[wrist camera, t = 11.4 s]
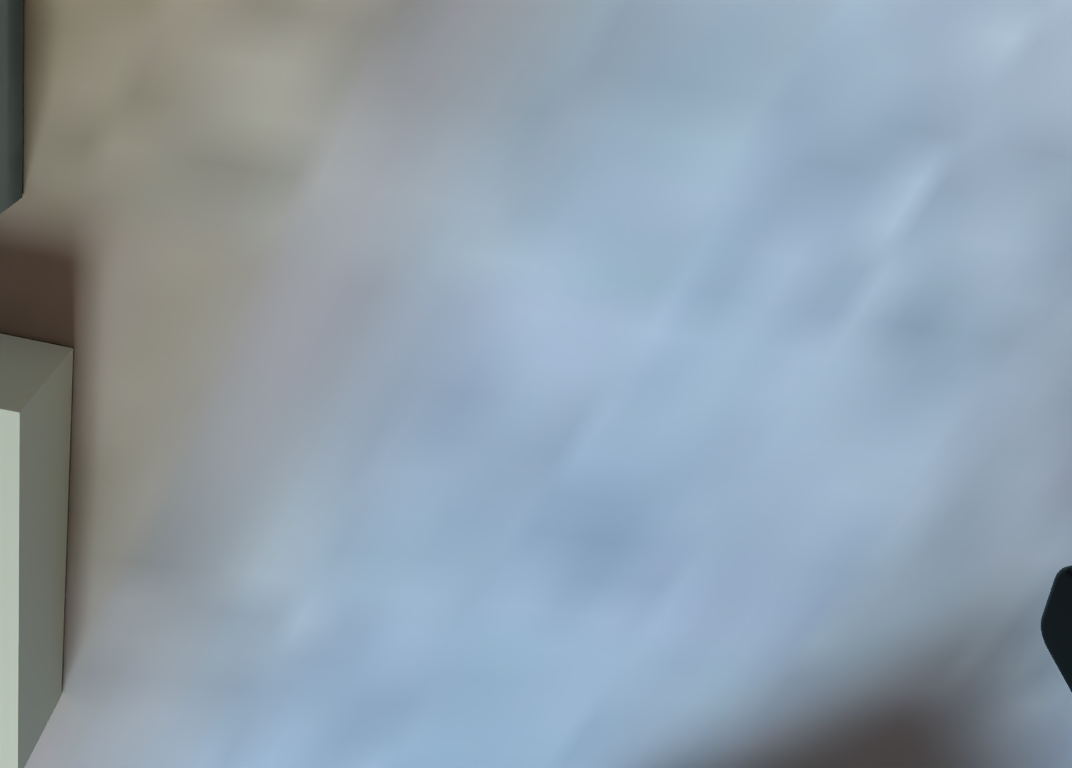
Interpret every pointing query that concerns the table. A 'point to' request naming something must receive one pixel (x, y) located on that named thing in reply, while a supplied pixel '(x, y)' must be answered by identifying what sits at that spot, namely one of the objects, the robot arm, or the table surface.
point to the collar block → (32, 537)
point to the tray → (11, 102)
